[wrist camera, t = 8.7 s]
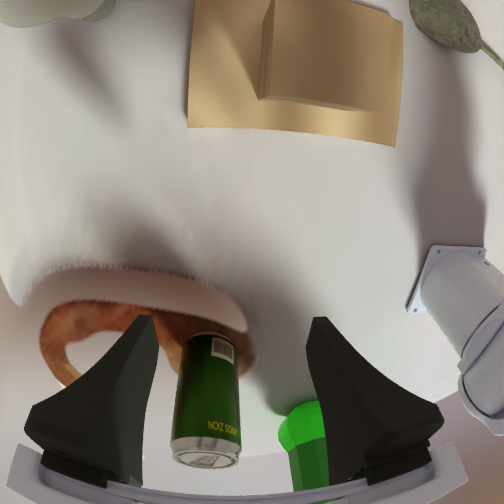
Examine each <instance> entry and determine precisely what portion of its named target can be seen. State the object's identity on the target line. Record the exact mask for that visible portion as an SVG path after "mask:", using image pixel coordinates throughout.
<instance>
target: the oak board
mask: <svg viewBox="0 0 504 504" xmlns="http://www.w3.org/2000/svg"><path fill="white" fill-rule="evenodd" d="M270 1H271V0H195V8H194V18H193V28H192V40H191V53H190V69H189V89H188V120H187V128H203V127H216V128H252V129H269V130H283V131H294V132H304V133H313V134H321V135H329V136H336V137H343V138H349V139H355V140H361V141H367V142H372V143H377V144H382V145H387V146H392V147H395V143H396V136H397V128H398V119H399V109H400V98H401V84H402V62H403V24H402V22H401V21H399V20H396V19H394V18H391V17H389V20H390V54H389V79H388V94H387V105H386V114H381V113H371V112H360V111H346V110H339V109H333V108H327V107H320V106H313V105H305V104H297V103H288V102H277V101H264V100H258V99H259V83H260V66H261V50H262V33H263V20H264V18H265V15H266V12H267V9H268V7H269V4H270Z"/></svg>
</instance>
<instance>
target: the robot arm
mask: <svg viewBox="0 0 504 504" xmlns="http://www.w3.org/2000/svg"><path fill="white" fill-rule="evenodd" d="M437 250H438V251H437ZM486 252H487V250H486V249H485V248H483V247H464V246H443V245H433V246H432V247H431V248H430V250H429V253H428V256H427V259H426V262H425V265H424V267H423V270H422V273H421V276H420V278H419V281H418V283H417V286H416V288H415V291H414V293H413V296H412V298H411V301H410V303H409V305H408V308H407V313H408V314H416V313H424V312H429V314H430V315H431V316H432V318H433V319H434V320H435V322H436V323H437V324H438V326H439V327H440V329H441V330H442V331H443V333H444V334H445V336H446V337H447V339H448V340H449V341H450V343H451V344H452V346H453V347H454V349H455V350H456V352H457V353H458V355H459V356H460V358H461V360H460V362H459V363H458V365H457V366H458V368H459V370H460V371H461V375H460V377H459V379H458V389H459V395H460V398H461V401H462V403H463V405H464V407H465V408H466V409H467V410H468V412H469V413H470V414H471V415H473V416H474V417H475V418H477V419H479V420H480V421H482V422H483V423H484V424H485V425H486V426H487V427H488V428H489V429H490V431H491V432H492V433H493V435H496V436H501V435H504V275H503V274H502V273H501V272H500V271H499V270H498V269H497V268H496V267H495V266H493V265H492V264H491V263H490V262H489V261H488V260H487V259H485V255H486ZM158 352H159V344H158V340H157V335H156V331H155V327H154V322H153V318H152V315H140V314H139V315H138V316H137V317H136V319H135V320H134V321H133V322H132V324H131V325H130V326H129V327H128V328H127V330H126V331H125V332H124V333H123V335H122V336H121V337H120V338H119V339H118V340H117V342H116V343H115V344H114V345H113V346H112V347H111V348H110V349H109V351H108V352H107V353H106V354H105V355H104V356H103V357H102V358H101V359H100V360H99V361H98V362H97V363H96V364H95V365H94V366H93V367H92V368H90V369H89V370H88V371H87V372H86V373H85V374H83V375H82V376H81V377H80V378H78V379H77V380H76V381H74V382H73V383H72V384H70V385H69V386H67V387H66V388H64V389H63V390H61V391H60V392H58V393H56V394H55V395H53V396H51V397H49V398H48V399H45V400H44V401H41V402H39V403H37V404H35V405H33V406H32V409H31V411H30V413H29V416H28V418H27V421H26V424H25V427H24V431H25V433H26V434H27V435H28V436H29V437H30V438H31V439H32V440H33V441H34V442H35V443H37V444H38V445H39V446H40V447H41V448H42V449H44V452H43V455H42V454H40V453H39V452H37V451H35V450H32V449H30V448H28V447H26V446H24V445H22V444H20V443H19V444H18V445H17V449H16V451H15V455H14V458H13V461H12V465H11V468H10V472H9V476H8V480H7V487H9V488H11V489H12V490H14V491H16V492H17V493H19V494H21V495H22V496H24V497H26V498H28V499H30V500H31V501H33V502H35V503H37V504H139V503H143V504H320V503H325V504H429V503H431V502H433V501H435V500H437V499H439V498H440V497H442V496H444V495H446V494H447V493H449V492H451V491H452V490H454V489H456V488H458V487H459V486H461V485H463V484H464V483H466V482H467V481H468V478H467V475H466V472H465V470H464V467H463V465H462V462H461V460H460V457H459V455H458V452H457V450H456V448H455V445H454V443H453V441H451V442H449V443H446V444H444V445H442V446H440V447H438V448H436V449H434V450H432V451H431V452H429V451H428V448H427V447H429V446H430V443H429V440H428V439H429V438H430V437H431V436H432V435H433V434H435V433H436V432H437V431H438V430H439V429H440V428H441V427H442V425H443V424H444V418H443V416H442V414H441V412H440V410H439V408H438V406H437V405H436V404H434V403H432V402H429V401H427V400H425V399H422V398H420V397H418V396H416V395H414V394H413V393H411V392H409V391H407V390H405V389H404V388H402V387H400V386H399V385H397V384H396V383H394V382H393V381H391V380H390V379H389V378H387V377H386V376H384V375H383V374H382V373H381V372H379V371H378V370H377V369H376V368H374V367H373V366H372V365H371V364H370V363H369V362H368V361H367V360H366V359H365V358H363V357H362V356H361V355H360V354H359V353H358V352H357V351H356V350H355V349H354V347H353V346H352V345H351V344H350V343H349V342H348V341H347V340H346V339H345V338H344V337H343V335H342V334H341V333H340V332H339V331H338V330H337V328H336V327H335V326H334V325H333V324H332V323H331V321H330V320H329V319H328V318H327V317H313V321H312V325H311V329H310V333H309V336H308V340H307V344H306V354H307V360H308V366H309V370H310V373H311V377H312V380H313V384H314V387H315V390H316V394H317V397H318V400H319V404H320V408H321V412H322V417H323V424H324V430H325V438H326V446H327V457H328V472H329V486H328V487H322V488H317V489H311V490H304V491H297V492H289V493H280V494H268V495H252V496H251V495H249V496H213V495H195V494H183V493H173V492H166V491H159V490H152V489H147V488H141V486H142V485H143V480H142V446H143V431H144V420H145V412H146V407H147V401H148V398H149V394H150V390H151V386H152V381H153V378H154V374H155V370H156V366H157V359H158ZM335 500H336V501H335ZM330 501H333V502H330ZM137 502H138V503H137ZM326 502H329V503H326Z"/></svg>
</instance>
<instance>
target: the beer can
mask: <svg viewBox="0 0 504 504" xmlns="http://www.w3.org/2000/svg"><path fill="white" fill-rule="evenodd" d="M170 447H171V449H172V451H173V454H172V458H173V459H174V460H175V461H176V462H178V463H180V464H183V465H186V466H189V467H194V468H201V469H224V468H229V467H232V466H235V465H237V464H238V463H239V455H240V453H241V451H242V447H241V427H240V405H239V380H238V354H237V349H236V347H235V345H234V344H233V342H232V341H231V339H229V338H228V337H227V336H226V335H223V334H221V333H219V332H214V331H202V332H198V333H195V334H194V335H192V336H191V337H190V338H189V339H188V340H187V341H186V342H185V344H184V345H183V349H182V356H181V362H180V369H179V376H178V383H177V391H176V398H175V407H174V414H173V423H172V432H171V441H170Z"/></svg>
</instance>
